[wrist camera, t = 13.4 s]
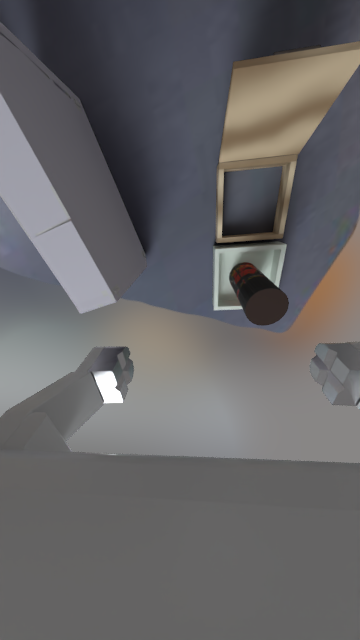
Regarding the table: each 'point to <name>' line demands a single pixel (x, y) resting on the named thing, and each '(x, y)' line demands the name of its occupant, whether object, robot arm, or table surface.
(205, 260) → the table surface
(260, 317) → the deodorant
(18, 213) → the game console
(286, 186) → the frame
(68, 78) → the table surface
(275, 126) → the beige flat board
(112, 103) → the table surface
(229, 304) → the tray
